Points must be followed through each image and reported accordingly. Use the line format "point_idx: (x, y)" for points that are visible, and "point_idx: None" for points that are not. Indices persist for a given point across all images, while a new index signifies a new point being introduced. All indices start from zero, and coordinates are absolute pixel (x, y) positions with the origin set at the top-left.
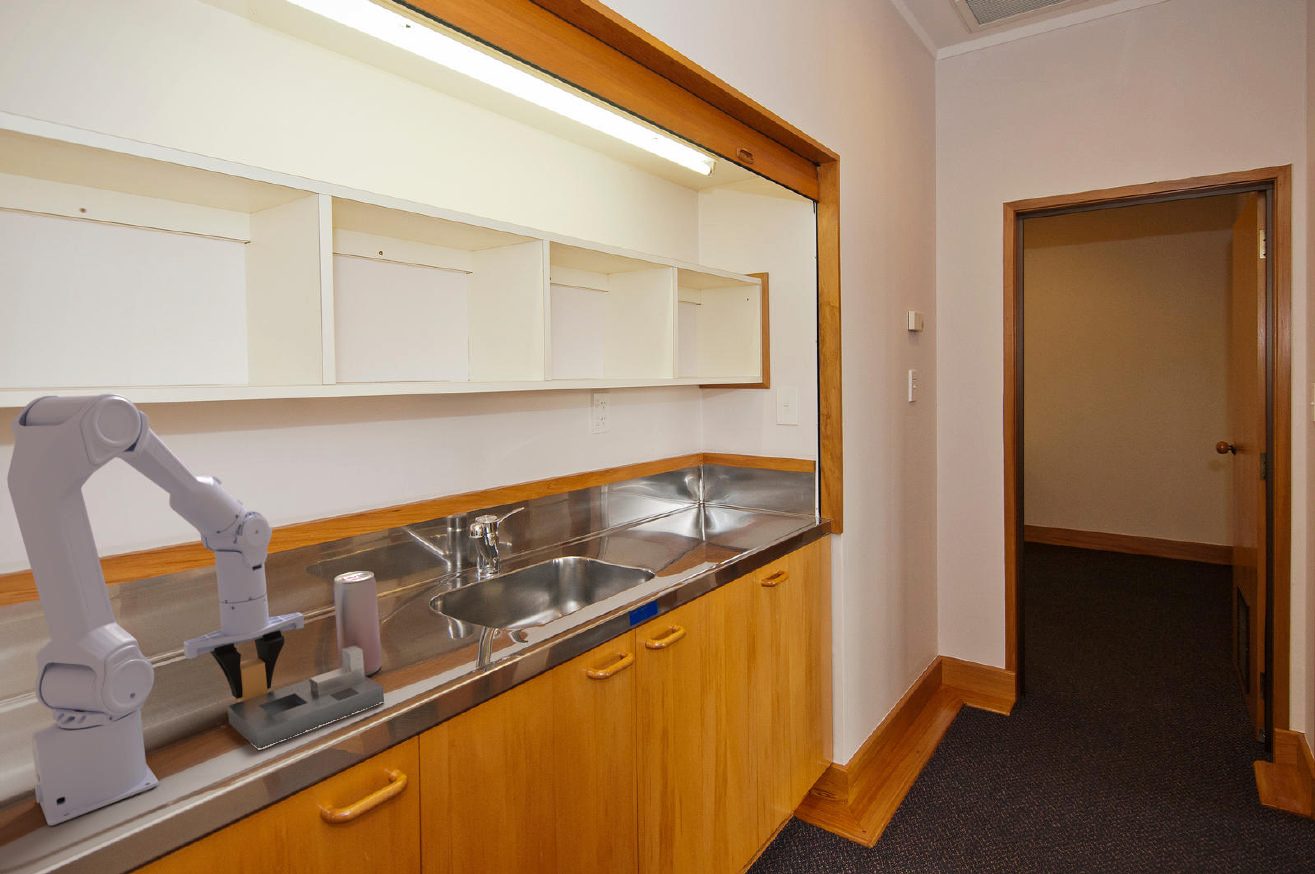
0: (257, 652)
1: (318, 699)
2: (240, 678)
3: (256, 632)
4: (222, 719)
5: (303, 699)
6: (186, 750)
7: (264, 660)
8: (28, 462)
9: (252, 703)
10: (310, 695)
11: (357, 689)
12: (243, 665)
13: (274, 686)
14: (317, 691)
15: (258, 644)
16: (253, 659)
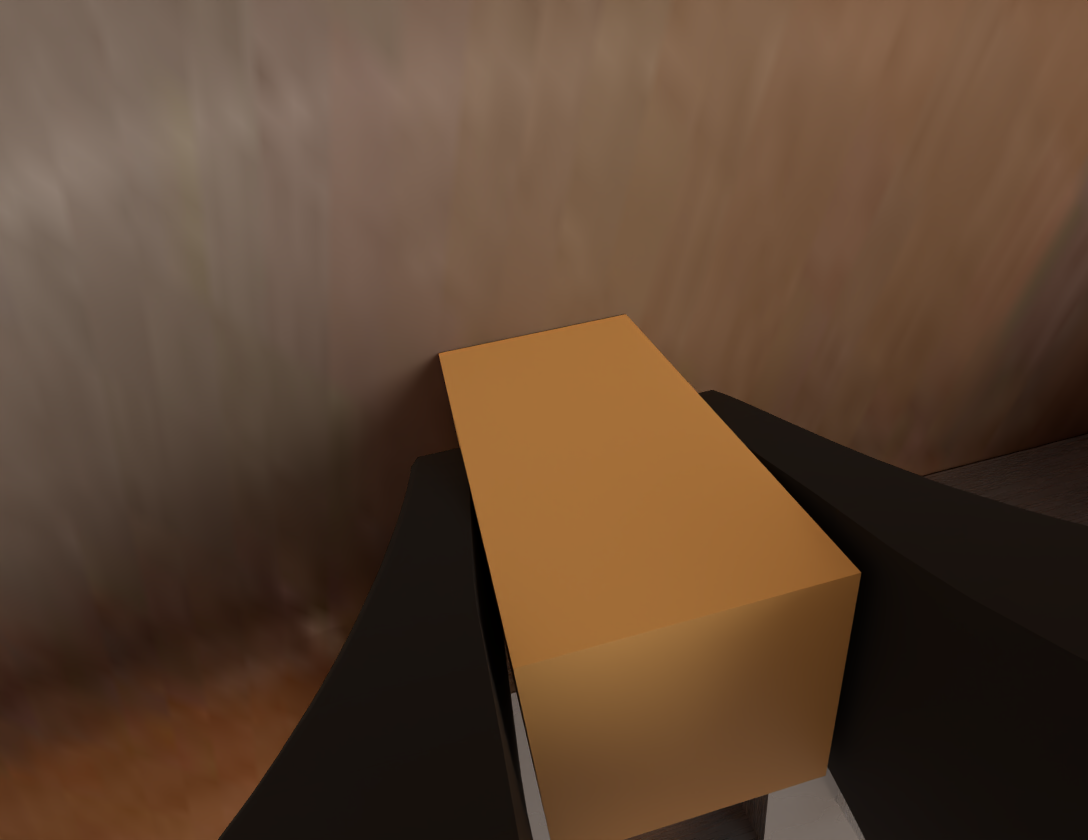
0: (936, 595)
1: (814, 835)
2: (517, 760)
3: None
4: (315, 536)
5: (767, 812)
6: (120, 811)
7: (853, 740)
8: None
9: (525, 764)
10: (815, 786)
11: None
12: (615, 760)
13: (795, 105)
14: (853, 822)
15: (1068, 826)
16: (790, 627)
